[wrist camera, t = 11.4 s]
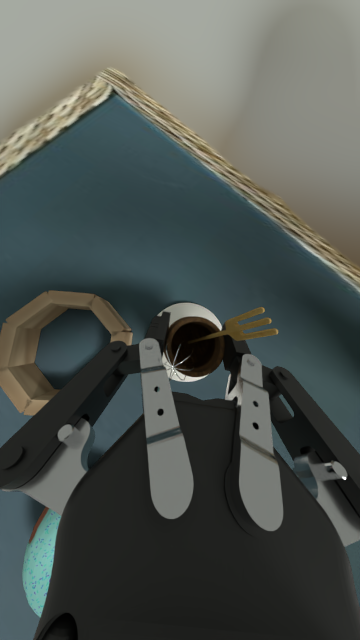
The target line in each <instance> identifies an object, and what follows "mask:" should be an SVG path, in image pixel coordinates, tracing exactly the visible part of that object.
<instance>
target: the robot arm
mask: <svg viewBox="0 0 360 640" xmlns="http://www.w3.org/2000/svg"><path fill="white" fill-rule="evenodd" d="M170 315H171V312H165V311H163V312H162V316H155V317H154V318H153V319H152V322H151V324H150V327H149V329H148V332H147V334H146V337H145V339H144V340H142V341H141V342H140V343H139V344H136V345H128V346H127V345H126V343H125V342H123V341H113V342H111V343H109V344H108V345H107V346H106V347H105V348H103V349H102V350H101V351H100V352H99V353H98V354H97V355H96V356H95V357H94V358H93V359H92V360H91V361H90V362H89V363H88V364H87V365H86V366H85V367H84V368H83V369H82V370H81V371H80V372H79V373H78V374H77V375H76V376H74V377H73V378H72V379H71V380H70V381H69V382H68V383H67V384H66V385H65V386H64V387H63V388H62V389H61V390H60V391H59V392H58V393H57V394H56V395H55V396H54V397H53V398H52V399H51V400H50V401H49V402H48V403H46V404H45V405H44V406H43V407H42V408H41V409H40V410H39V411H38V412H37V413H36V414H35V415H34V416H33V417H32V418H31V419H30V420H29V421H28V422H27V423H26V424H25V425H24V426H23V427H22V428H21V429H20V430H19V431H17V432H16V433H15V434H14V435H13V436H12V437H11V438H10V439H9V440H8V441H7V442H6V443H5V444H4V445H3V446H2V447H1V448H0V489H2V490H3V491H10V492H24V493H26V494H27V495H29V496H30V497H32V498H34V499H35V500H37V501H38V502H40V503H42V504H43V505H45V506H46V507H48V508H50V509H51V510H53V511H54V512H56V513H57V514H59V515H61V519H60V522H59V525H58V530H57V534H56V541H55V550H54V560H53V567H52V572H51V578H50V583H49V587H48V592H47V596H46V600H45V604H44V607H43V611H42V614H41V618H40V621H39V624H38V627H37V630H36V633H35V636H34V639H33V640H360V607H359V603H358V599H357V595H356V590H355V585H354V580H353V575H352V570H351V566H350V562H349V559H348V556H347V553H346V550H345V546H347V545H349V544H352V543H354V542H356V541H358V540H360V454H359V453H358V452H357V451H356V450H355V448H354V447H353V446H352V445H351V444H350V442H349V441H348V440H347V439H346V438H345V437H344V435H343V434H342V433H341V432H340V431H339V429H338V428H337V427H336V426H335V425H334V424H333V422H332V421H331V420H330V419H329V418H328V416H327V415H326V414H325V413H324V412H323V411H322V409H321V408H320V407H319V406H318V405H317V403H316V402H315V401H314V400H313V399H312V397H311V396H310V395H309V394H308V393H307V392H306V390H305V389H304V388H303V387H302V386H301V384H300V383H299V382H298V381H297V380H296V379H295V377H294V376H293V375H292V374H291V373H290V372H289V371H288V370H286V369H285V368H282V367H278V366H277V367H275V368H274V369H273V370H272V369H270V368H267V367H265V366H263V365H261V362H260V361H259V360H258V359H257V358H256V357H255V356H253V355H251V352H250V350H249V348H248V345H247V343H246V341H245V340H240V341H236V340H234V339H233V338H232V337H231V336H230V335H228V334H226V335H223V337H224V341H225V352H224V357H223V362H224V367H225V370H228V371H230V372H231V374H230V375H229V378H228V384H227V389H226V395H225V399H211V400H205V401H203V400H200V399H198V398H195V397H193V396H191V395H188V394H185V393H178V392H171V387H170V383H169V379H168V374H167V370H166V367H165V366H164V365H163V363H161V362H163V361H162V357H163V353H164V352H163V351H164V348H165V343H166V337H167V333H168V329H169V323H170ZM223 330H226V325H225V323H224V325H223V327H222V329H221V331H223ZM161 352H163V353H161ZM158 359H159V360H160V361H161V362H160V361H159V360H158ZM139 372H140V373H141V387H142V402H143V414H142V415H141V416H140V417H139V418H138V419H137V420H136V421H135V423H134V424H133V425H132V426H131V427H130V428H129V429H128V430H127V431H126V432H125V433H124V434H123V435H122V436H121V437H120V438H119V439H118V440H117V441H116V442H115V443H114V444H113V445H112V446H111V447H110V448H109V449H108V450H107V452H106V453H105V454H104V455H103V456H102V457H101V458H100V459H99V460H98V461H97V462H96V463H95V464H94V465H93V466H92V467H91V468H90V469H88V465H87V459H88V454H89V451H90V449H91V447H92V445H93V443H94V440H95V431H94V429H93V428H92V427H93V425H94V424H95V422H96V421H97V419H98V418H99V416H100V415H101V413H102V412H103V411H104V409H105V408H106V406H107V405H108V403H109V402H110V400H111V399H112V397H113V396H114V395H115V393H116V392H117V390H118V389H119V387H120V386H121V384H122V383H123V381H124V380H125V379H126V377H127V376H128V374H133V373H139ZM281 394H282V395H283V397H284V398H285V399H286V401H287V402H288V404H289V405H290V407H291V408H292V410H293V412H294V417H292V416H291V414H290V413H289V411H288V410H287V408H286V407H285V405H284V404H283V402H282V401H281V399H280V398H279V396H280V395H281ZM271 421H272V423H273V425H274V427H275V429H276V430H277V432H278V434H279V436H280V438H281V439H282V441H283V443H284V445H285V447H286V448H287V450H288V452H289V454H290V455H291V457H292V459H293V461H294V468H293V470H292V469H291V468H290V467H289V465H288V464H287V463H286V462H285V461H284V459H283V458H282V457H281V456H280V454H279V453H278V452H277V451H276V449H275V448H274V447H273V443H272V430H271Z"/></svg>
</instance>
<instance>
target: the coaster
mask: <svg viewBox="0 0 360 640" xmlns="http://www.w3.org/2000/svg"><path fill="white" fill-rule="evenodd" d="M163 311H165V312H171V315H170V323H169V327H170V325H171V324H172V323H174V322H175V321H177V320H178V319H180V318H183V317H188V316H198V317H203V318H206V319H208V320H210V321H211V322H213V323H214V324H215V325H216V326H217V327H218V328H219V329H220V331H221V329H222V326H221V324H220V322H219V321H218V319H217V318H216V317H215V315H214V314H213V313H212V312H210V311H209V310H208V309H206V308H204V307H202V306H200V305H197V304H194V303H178V304H174V305H172V306H169V307H167V308H166V309H164V310H163ZM163 311H161V312H160V313H159V314H158V315H157V316H162V312H163ZM162 361H163V363H164V364H166V365H164V364H163V365H164V366H165V367H166V370H167V369H169V368H171V367H169V366H171V365H170V364H169V362H167V359H166V357H165V355H164V353H163V357H162ZM166 362H167V363H166ZM167 365H169V366H167ZM172 368H173V367H172ZM172 368H171V369H172ZM171 369H169V370H167V374H168V377H170V373H171ZM174 370H175V372H176V373H177V375H178V376H179V377H180V378H181V379H182V380H181V379H179V377H178V376H177V375H176V373H175V372H174ZM174 370H173V369H172V373H171V377H172V378H171V377H170V378H171V379H173V380H177V381H182V382H190V381H196V380H199V379H201V378H204V377H205V376H203V377H189V376H186V377H185V375H183V374H181V373H180V372H178V371H177V370H176V369H174ZM173 372H174V374H173ZM172 375H173V376H172ZM208 375H209V374H208ZM206 376H207V375H206ZM184 378H185V380H184Z"/></svg>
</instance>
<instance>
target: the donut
mask: <svg viewBox="0 0 360 640" xmlns="http://www.w3.org/2000/svg"><path fill="white" fill-rule="evenodd" d="M60 519H61V515H59V514H57V513H56V512H54V511H53V510H51V509H50V508H48V507H45V509H44V510H43V512H42V514H41V516H40V517H39V519H38V521H37V523H36V525H35V526H34V529H33V532H32V534H31V537H30V540H29V542H28V544H27V548H26V552H25V558H24V565H23V586H24V589H25V591H26V596H27V599H28V602H29V605H30V606H31V608H32V609H33V610H34V612H35V613H36V614H37V615H38V616H39V617H40V618H41V614H42V611H43V607H44V604H45V600H46V596H47V592H48V587H49V583H50V578H51V572H52V567H53V560H54V550H55V541H56V534H57V530H58V525H59V522H60Z"/></svg>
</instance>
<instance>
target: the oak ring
mask: <svg viewBox="0 0 360 640" xmlns="http://www.w3.org/2000/svg"><path fill="white" fill-rule="evenodd" d="M69 308H71V309H83V310H92V311H93V312H94V314H95V315H96V316H97V317H98V319H99V320H100V321H101V322H102V323H103V325H104V326H105V327H106V328H107V330H108V331H109V332H110V333H111V334H112V335H111V342H113V341H123V342H125V343H126V345H127V346H128V345H131V343H132V335H133V333H130V331H131V330H132V329H131V328H130V327H129V326H128V325H127V323H126V322H125V321H124V320H123V319H122V317H121V316H120V315H119V314H118V313H117V311H116V310H115V309H114V308H113V307H112V305H111V304H110V303H109V302H108V301H106V300H104V299H103V298H101V297H99V296H97V295H95V294H88V293H76V292H64V291H52V290H49V292H46V291H45V292H44V293H42V294H41V295H39V296H38V297H37V298H35V299H34V300H32V301H31V302H30V303H28V304H27V305H25V306H24V307H23V308H21V309H20V310H18V311H17V312H15V313H14V314H13V315H11V316H10V317H8V318H7V319H6V321H7V322H8V323H3V325H2V329H1V334H0V386H1V387H2V389H3V390H4V391H5V393H6V394H7V396H8V397H9V398H10V400H11V401H12V402H13V404H14V405H15V407H16V408H17V409H18V411H19V412H20V413H21V412H23V411H24V415H35V414H36V413H37V412H38V411H39V410H40V409H41V408H42V407H43V406H44V405H45V404H46V403H48V402H49V401H50V400H51V399H52V398H53V397H54V396H55V395H56V394H57V393H58V392H59V391H60V390H59V389H54V388H53V387H52V386H51V384H50V383H49V382H48V380H47V379H46V378H45V376H44V375H43V374H42V372H41V371H40V370H39V368H38V367H37V366H36V364H35V363H34V361H35V357H36V352H37V347H38V342H39V337H40V332H41V329H42V328H43V327H45V326H46V325H47V324H49V323H50V322H51V321H53V320H54V319H55V318H57V317H58V316H59V315H61V314H62V313H63V312H65V311H66V310H67V309H69ZM111 342H110V343H111Z"/></svg>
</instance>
